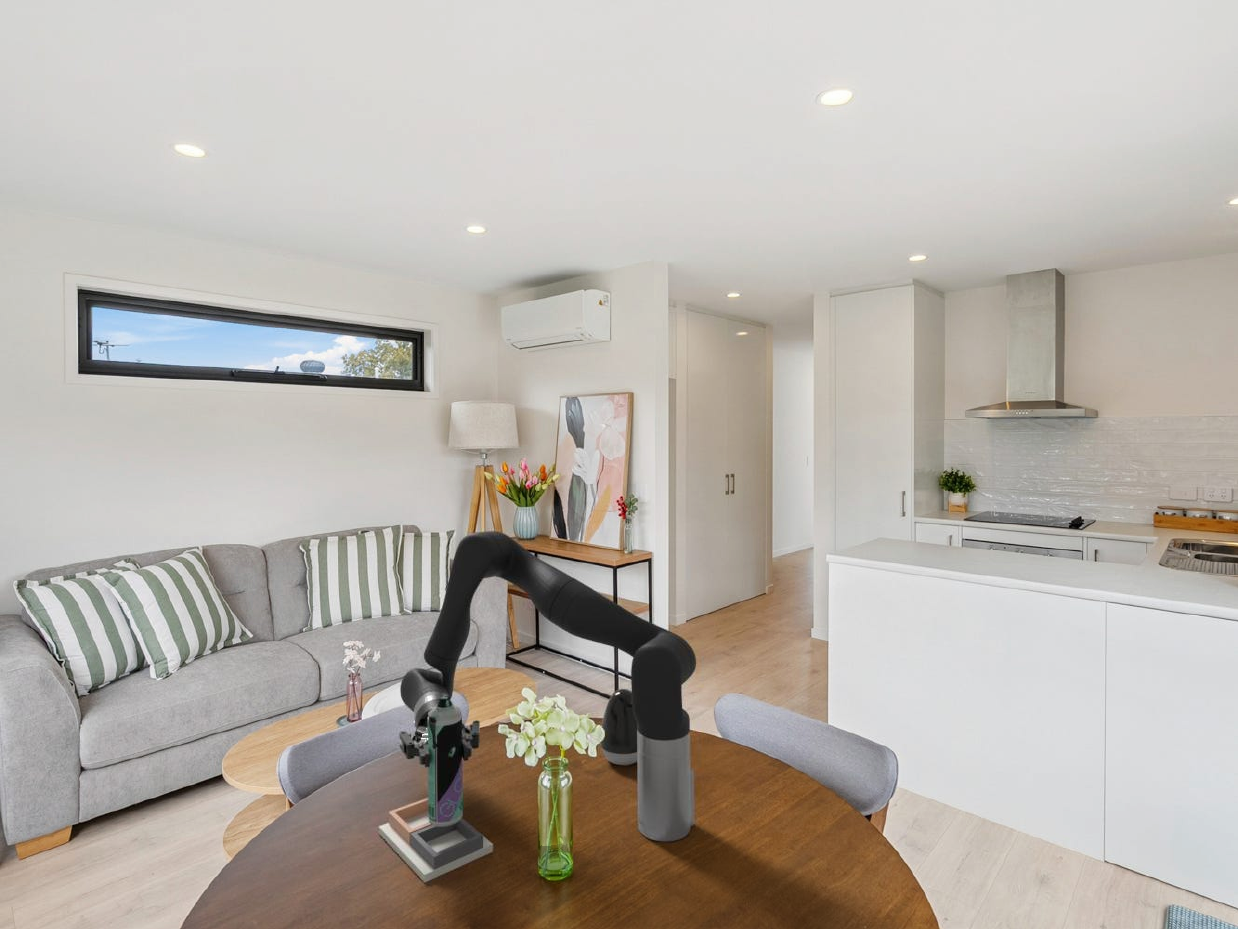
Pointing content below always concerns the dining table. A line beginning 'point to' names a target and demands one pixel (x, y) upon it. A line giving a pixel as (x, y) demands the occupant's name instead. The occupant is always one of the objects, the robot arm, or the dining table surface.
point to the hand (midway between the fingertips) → (447, 758)
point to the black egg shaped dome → (620, 729)
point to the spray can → (445, 764)
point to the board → (432, 841)
